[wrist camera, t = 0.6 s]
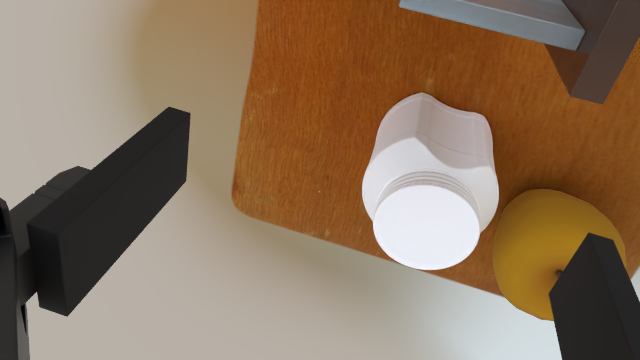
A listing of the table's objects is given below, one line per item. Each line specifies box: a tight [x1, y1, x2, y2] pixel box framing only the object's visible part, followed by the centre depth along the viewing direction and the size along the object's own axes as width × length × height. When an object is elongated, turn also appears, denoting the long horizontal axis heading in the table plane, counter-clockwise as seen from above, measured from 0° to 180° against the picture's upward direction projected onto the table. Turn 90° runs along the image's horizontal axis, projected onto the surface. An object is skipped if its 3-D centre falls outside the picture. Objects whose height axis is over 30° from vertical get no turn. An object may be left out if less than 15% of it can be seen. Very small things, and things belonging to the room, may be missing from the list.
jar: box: [362, 92, 499, 270], centre depth 46 cm, size 12×10×15 cm
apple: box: [492, 189, 627, 321], centre depth 48 cm, size 11×11×13 cm
